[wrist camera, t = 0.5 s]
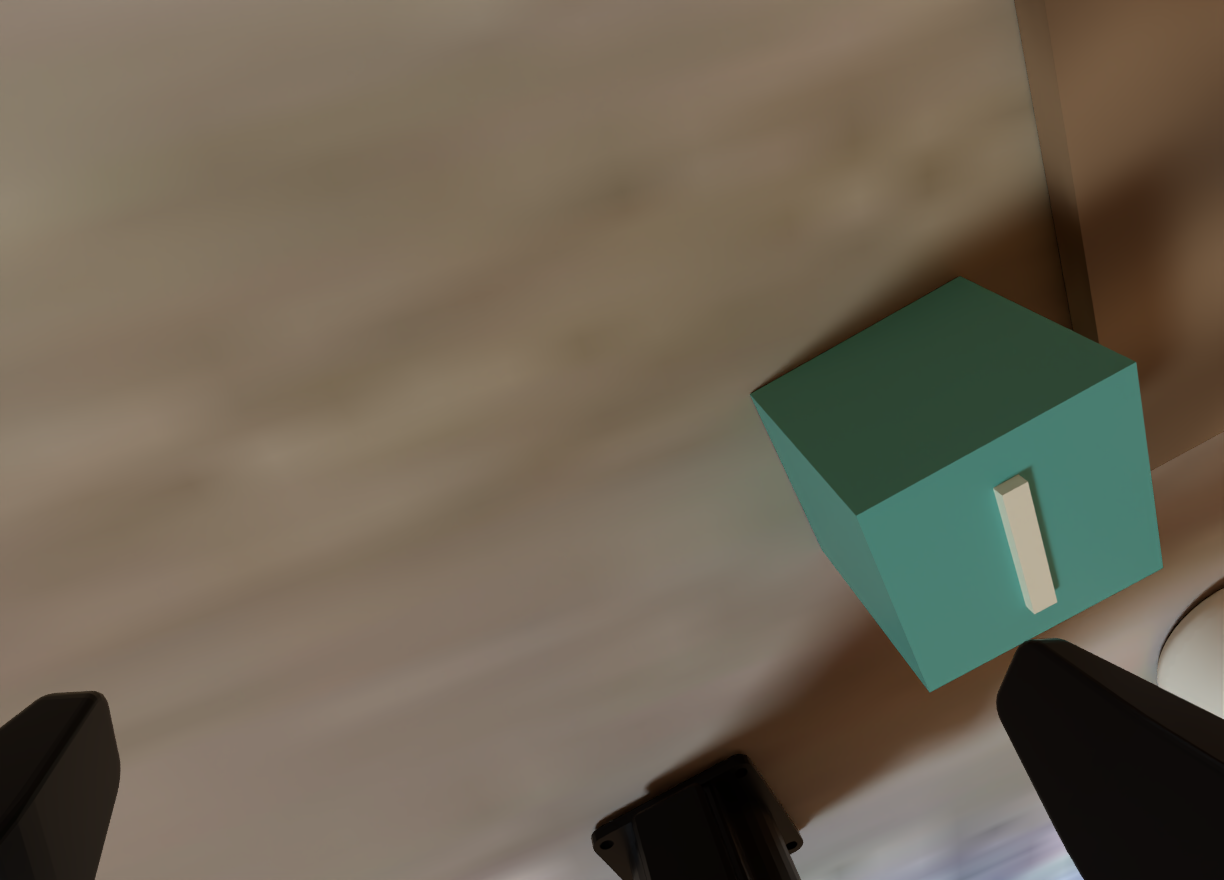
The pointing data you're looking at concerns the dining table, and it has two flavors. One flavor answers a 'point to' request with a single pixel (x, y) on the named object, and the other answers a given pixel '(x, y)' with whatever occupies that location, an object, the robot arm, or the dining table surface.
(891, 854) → the dining table surface
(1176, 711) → the robot arm
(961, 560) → the teal drawer cube
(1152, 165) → the keyed post base
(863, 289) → the dining table surface
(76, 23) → the dining table surface
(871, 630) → the dining table surface
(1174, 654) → the water bottle
